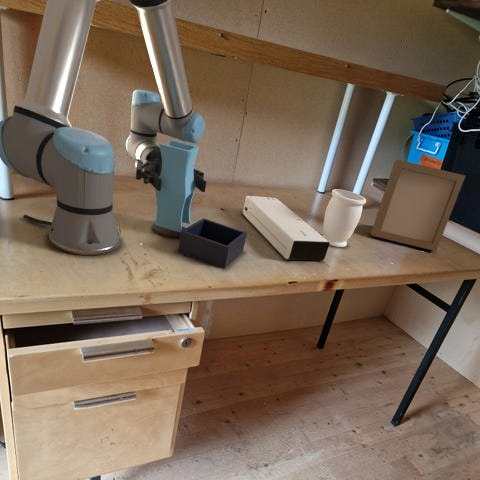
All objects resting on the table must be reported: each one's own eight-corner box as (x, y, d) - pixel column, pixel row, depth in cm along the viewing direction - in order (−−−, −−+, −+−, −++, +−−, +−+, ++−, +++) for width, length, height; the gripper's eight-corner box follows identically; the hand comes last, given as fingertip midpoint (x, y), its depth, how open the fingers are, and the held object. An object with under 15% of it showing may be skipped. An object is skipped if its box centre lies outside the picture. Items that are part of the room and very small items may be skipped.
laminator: (323, 262, 114) (330, 242, 110) (284, 262, 109) (290, 240, 105) (272, 215, 139) (276, 197, 135) (238, 213, 134) (242, 194, 130)
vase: (163, 215, 114) (171, 139, 103) (190, 223, 113) (201, 147, 102) (152, 224, 107) (159, 143, 96) (180, 232, 107) (190, 152, 96)
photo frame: (434, 253, 139) (471, 179, 126) (372, 238, 140) (401, 162, 126) (424, 238, 152) (456, 169, 138) (367, 224, 152) (393, 154, 139)
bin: (178, 252, 101) (180, 231, 98) (200, 237, 112) (203, 217, 109) (224, 268, 99) (228, 247, 96) (242, 252, 109) (247, 232, 106)
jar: (311, 234, 131) (325, 187, 123) (338, 235, 135) (353, 190, 127) (327, 248, 123) (344, 199, 115) (355, 249, 127) (373, 202, 119)
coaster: (147, 230, 108) (147, 229, 108) (164, 221, 116) (164, 220, 116) (177, 241, 107) (178, 239, 106) (193, 231, 114) (193, 230, 114)
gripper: (189, 175, 124) (222, 201, 109) (110, 170, 112) (134, 200, 97) (193, 149, 120) (227, 173, 105) (111, 142, 108) (136, 167, 93)
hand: (182, 186), depth 101 cm, fingers closed on vase, 11 cm apart
